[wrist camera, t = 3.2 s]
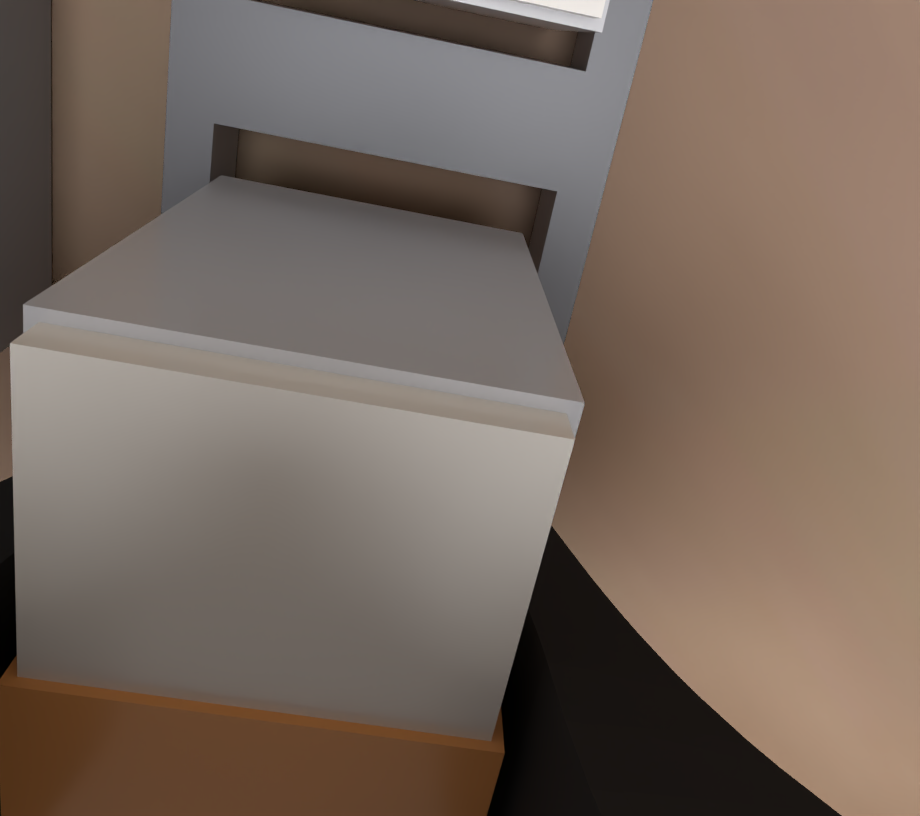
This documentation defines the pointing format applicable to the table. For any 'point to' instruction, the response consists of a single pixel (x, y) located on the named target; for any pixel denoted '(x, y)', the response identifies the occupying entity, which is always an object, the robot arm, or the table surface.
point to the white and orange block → (278, 512)
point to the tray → (24, 159)
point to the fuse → (538, 12)
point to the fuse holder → (406, 108)
